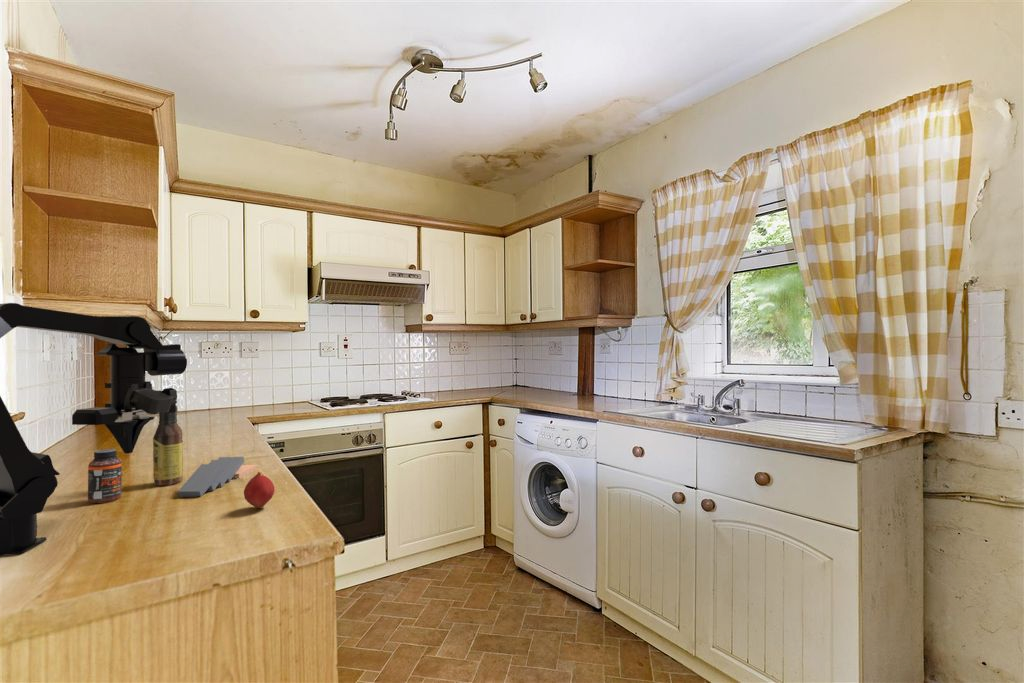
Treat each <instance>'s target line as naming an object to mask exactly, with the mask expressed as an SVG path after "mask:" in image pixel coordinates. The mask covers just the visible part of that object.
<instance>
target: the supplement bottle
mask: <svg viewBox="0 0 1024 683" xmlns="http://www.w3.org/2000/svg"><path fill="white" fill-rule="evenodd" d="M117 455H118V454H117V449H115V448H104V449H99V450H95V451H94V452H93V460H92V461H90V462H89V463H88V468H87V501H88V503H91V504H103V503H102V502H105V503H110V502H113V500H114V501H116V500H119V499H120V498H121V497H122V479H123V478H122V476H123V475H122V472H123V471H122V470H123V468H122V467H123V466H122V463H123V461H122V460H121V458H119V457H118V456H117ZM109 501H110V502H109Z"/></svg>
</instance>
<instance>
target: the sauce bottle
mask: <svg viewBox="0 0 1024 683" xmlns="http://www.w3.org/2000/svg"><path fill="white" fill-rule="evenodd" d="M178 411H179V410H178V405H177V404H176V412H172V413H163V412H161V413H158V425H157V427H156V430H155V433H154V436H153V437H152V457H153V458H152V461H153V464H152V465H153V466H152V473H153V474H152V476H153V477H152V478H153V483H154V485H156V486H172V485H176V484H178V483H180V482H182V481H183V474H184V454H183V453H184V447H183V446H184V444H183V442H184V441H183V430H182V428H181V426H179V423H178V419H177V418H178V417H177V416H178V415H177V414H178Z"/></svg>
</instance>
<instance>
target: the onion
mask: <svg viewBox="0 0 1024 683" xmlns="http://www.w3.org/2000/svg"><path fill="white" fill-rule="evenodd" d="M275 490H276V489H275V484H274V483H273V481H272V480H271V479H270V478H269V477H268V476H266V475H264V474H263V472H262V470H260V471H258V472H257V473H256V474H255V475H254V476H253V477H252V478H250V480H249V481H248V482H247V483H246V485H245V487H244V490H243V496H244V500H245V501H246V502H247V503H248V504H250V505H251V506H253V507H254V508H256V509H257V508H260V509H262V508H264V506H266V504H267V503H269V502H270V500H271V499H272V498H273V496H274V494H275Z"/></svg>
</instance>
